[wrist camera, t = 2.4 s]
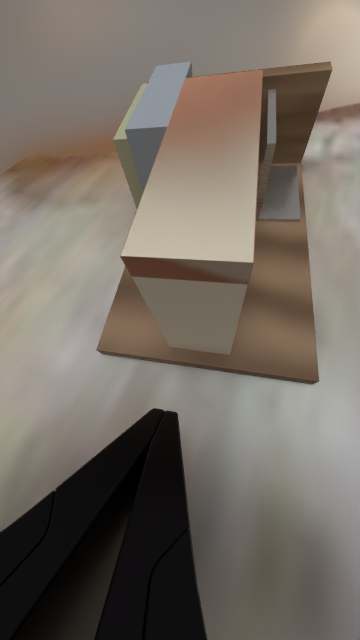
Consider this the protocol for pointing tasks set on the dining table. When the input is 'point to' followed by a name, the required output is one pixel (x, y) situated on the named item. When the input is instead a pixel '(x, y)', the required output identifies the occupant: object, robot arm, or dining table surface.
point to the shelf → (267, 272)
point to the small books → (148, 124)
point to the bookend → (275, 175)
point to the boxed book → (200, 213)
